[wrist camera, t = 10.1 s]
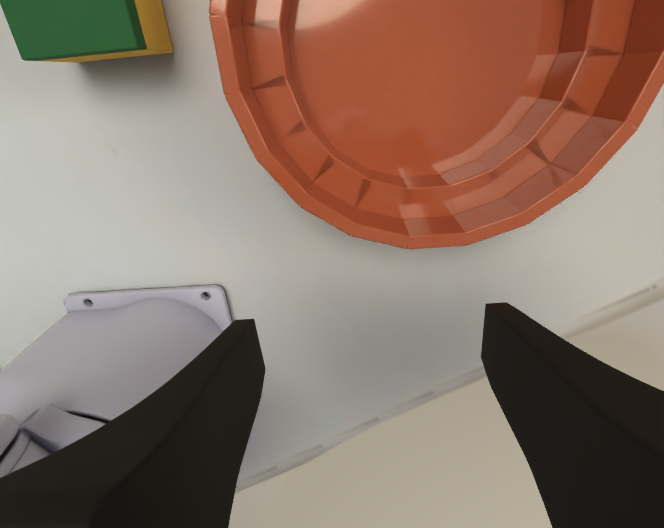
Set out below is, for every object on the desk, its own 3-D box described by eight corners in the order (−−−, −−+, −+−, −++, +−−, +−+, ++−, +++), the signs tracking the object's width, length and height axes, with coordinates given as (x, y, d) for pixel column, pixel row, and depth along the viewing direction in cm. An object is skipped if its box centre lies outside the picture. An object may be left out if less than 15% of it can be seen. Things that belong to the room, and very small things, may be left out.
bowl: (273, 222, 20) (255, 259, 16) (207, -182, 14) (149, -288, 10) (571, 201, 19) (631, 235, 15) (659, -246, 13) (806, -396, 9)
